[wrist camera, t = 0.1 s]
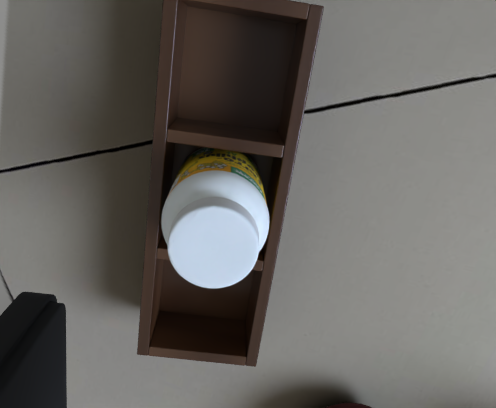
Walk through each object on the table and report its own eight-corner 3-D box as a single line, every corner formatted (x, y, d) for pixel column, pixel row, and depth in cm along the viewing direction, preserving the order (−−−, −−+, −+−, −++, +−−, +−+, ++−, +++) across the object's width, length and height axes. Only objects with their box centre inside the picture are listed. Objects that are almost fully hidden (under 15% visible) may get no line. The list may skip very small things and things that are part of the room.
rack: (150, 312, 31) (136, 354, 27) (177, -9, 24) (164, -21, 20) (253, 323, 32) (255, 367, 28) (309, 13, 25) (324, 6, 20)
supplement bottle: (168, 207, 28) (134, 282, 19) (192, 129, 26) (168, 172, 17) (245, 232, 29) (249, 316, 20) (274, 158, 27) (292, 213, 18)
